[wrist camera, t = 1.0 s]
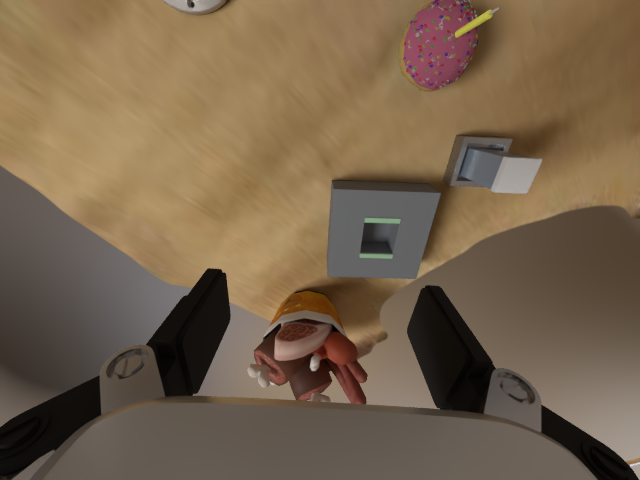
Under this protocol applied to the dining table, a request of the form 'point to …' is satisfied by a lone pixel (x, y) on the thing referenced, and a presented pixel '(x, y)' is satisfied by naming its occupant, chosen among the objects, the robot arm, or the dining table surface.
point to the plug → (499, 169)
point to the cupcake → (440, 43)
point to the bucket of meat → (308, 350)
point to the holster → (459, 151)
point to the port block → (379, 228)
